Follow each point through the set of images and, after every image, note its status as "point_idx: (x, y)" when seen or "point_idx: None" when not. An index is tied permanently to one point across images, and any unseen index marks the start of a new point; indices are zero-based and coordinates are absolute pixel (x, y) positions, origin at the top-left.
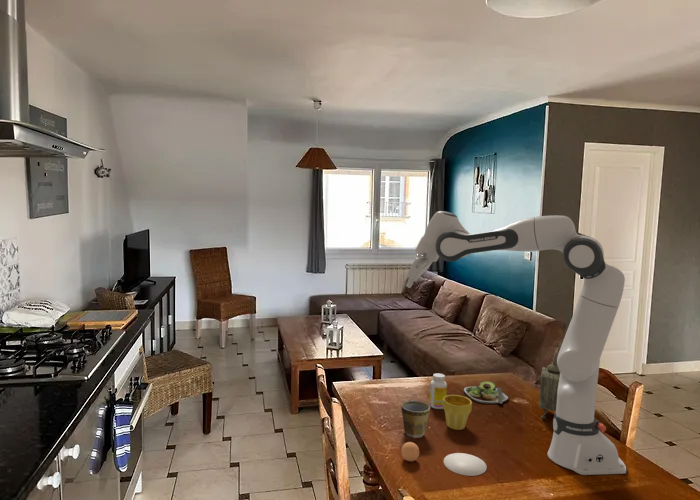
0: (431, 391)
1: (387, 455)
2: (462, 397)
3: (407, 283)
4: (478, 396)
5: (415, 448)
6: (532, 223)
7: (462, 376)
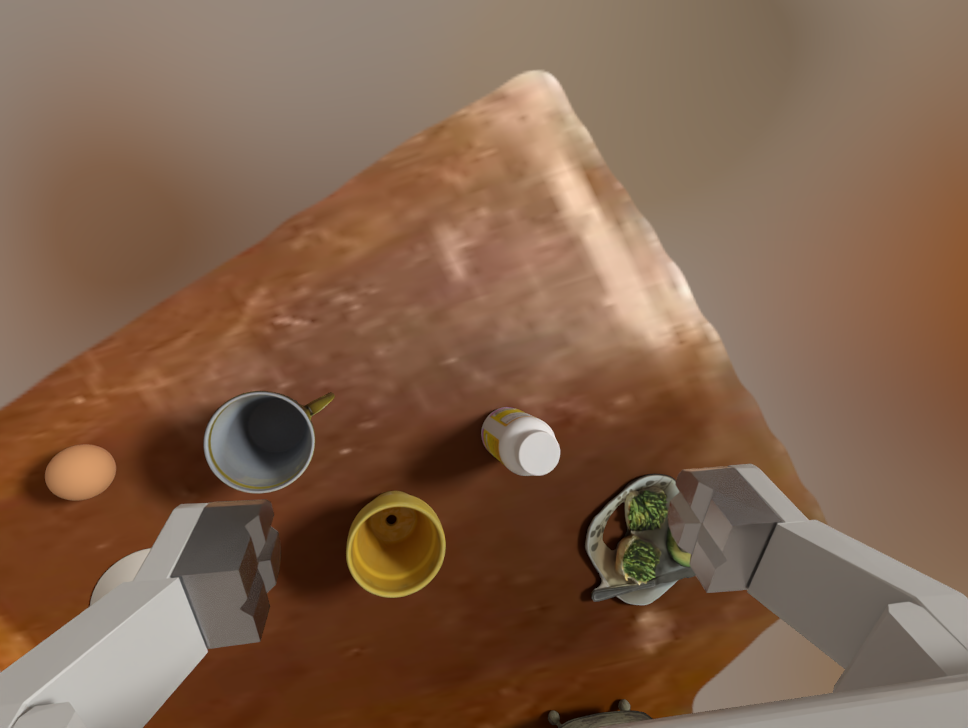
0: (500, 424)
1: (90, 398)
2: (439, 554)
3: (151, 557)
4: (626, 522)
5: (61, 496)
6: None
7: (766, 437)
